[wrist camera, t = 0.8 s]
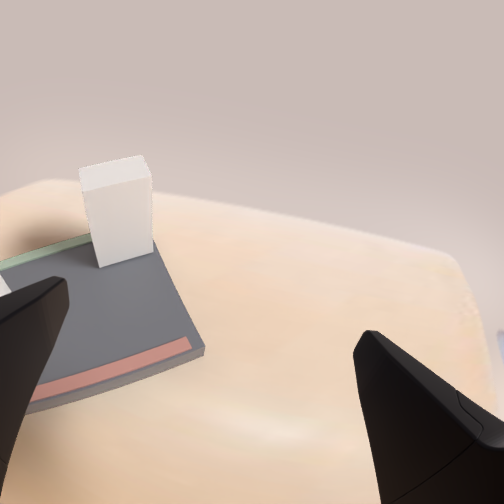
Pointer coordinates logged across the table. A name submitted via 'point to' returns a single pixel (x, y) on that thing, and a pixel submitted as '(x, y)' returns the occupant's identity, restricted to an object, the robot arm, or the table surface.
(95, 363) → the grey tray with blocks
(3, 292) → the yellow-banded white block
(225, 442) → the table surface
